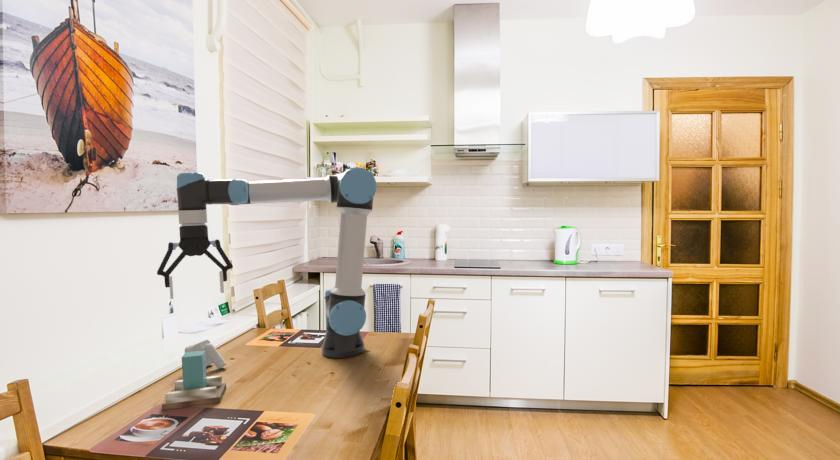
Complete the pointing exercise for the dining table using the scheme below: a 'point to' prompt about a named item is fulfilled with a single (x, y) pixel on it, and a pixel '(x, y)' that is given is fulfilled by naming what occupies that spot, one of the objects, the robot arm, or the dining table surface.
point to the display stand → (195, 394)
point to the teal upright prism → (194, 370)
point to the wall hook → (208, 353)
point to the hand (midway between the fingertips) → (197, 295)
